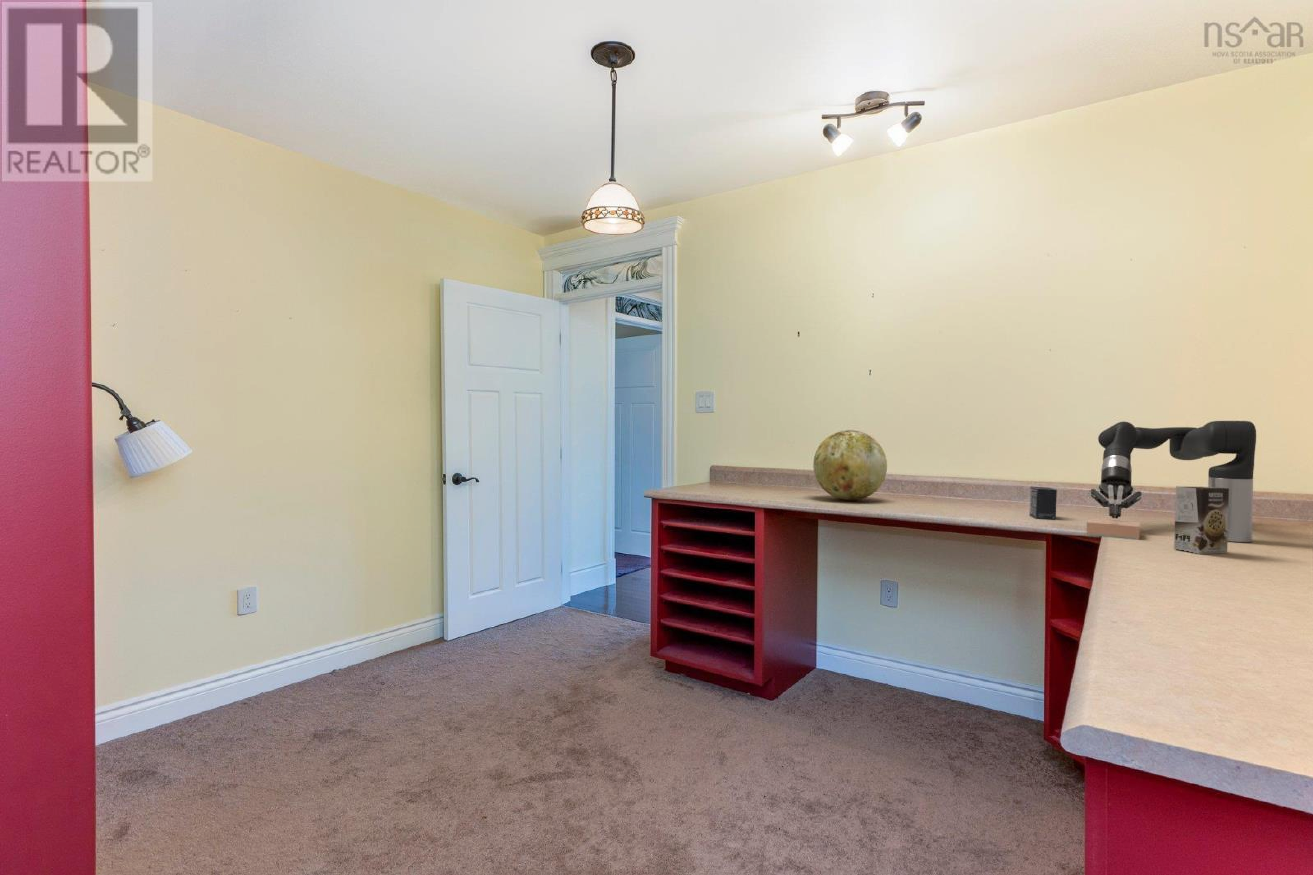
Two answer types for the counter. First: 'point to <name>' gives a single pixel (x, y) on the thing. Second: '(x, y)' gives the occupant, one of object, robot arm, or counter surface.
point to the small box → (1043, 503)
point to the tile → (1113, 528)
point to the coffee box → (1201, 519)
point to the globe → (850, 465)
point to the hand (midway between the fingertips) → (1114, 516)
